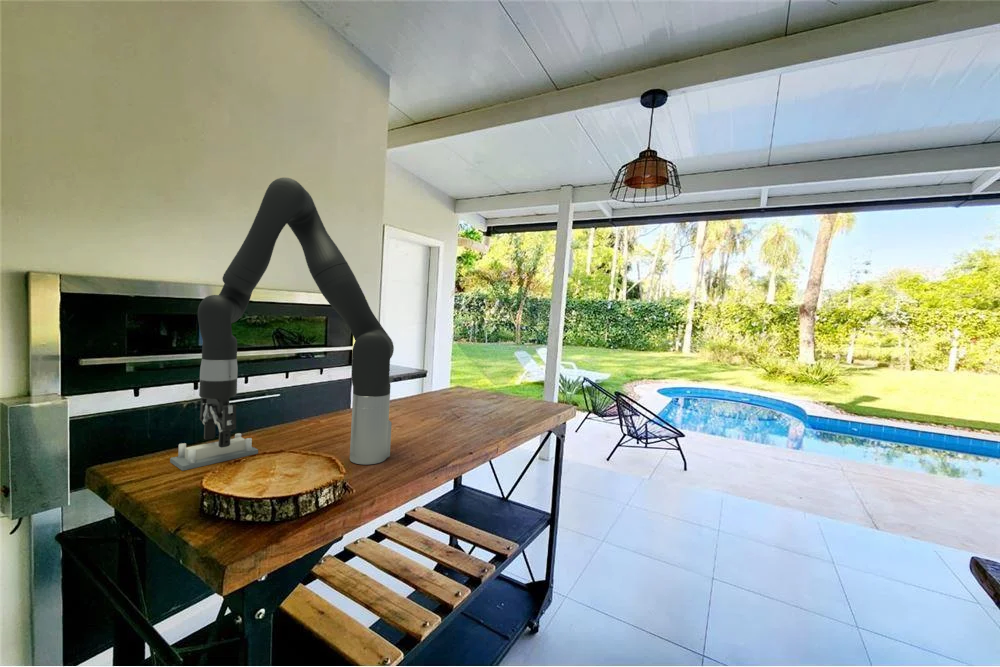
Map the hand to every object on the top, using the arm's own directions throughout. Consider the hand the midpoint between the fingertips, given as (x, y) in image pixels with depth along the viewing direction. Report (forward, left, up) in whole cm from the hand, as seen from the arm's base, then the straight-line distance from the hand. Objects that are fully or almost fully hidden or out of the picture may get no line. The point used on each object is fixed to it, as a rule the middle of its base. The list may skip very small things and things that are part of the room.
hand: (216, 442), depth 99 cm
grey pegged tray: (0, 0, -4) cm, 4 cm away
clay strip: (0, 0, -3) cm, 3 cm away
